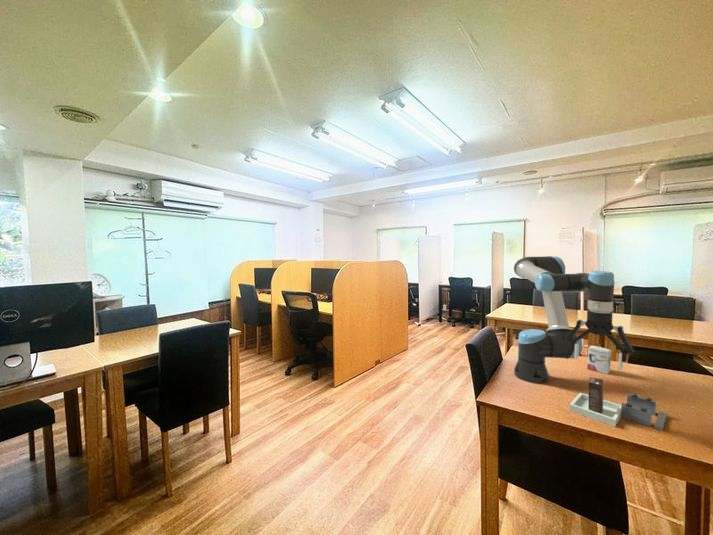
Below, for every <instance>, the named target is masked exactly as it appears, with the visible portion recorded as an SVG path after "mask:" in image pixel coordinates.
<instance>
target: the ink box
mask: <svg viewBox="0 0 713 535" xmlns="http://www.w3.org/2000/svg"><path fill="white" fill-rule="evenodd" d="M611 360H612V350H611V349H609V348H606V347H605V348H604V347H601V346H596V345H590V346H589V347H588V351H587V369H588V370H591V371H595V372H599V373H603V374H609V373H610V371H611Z"/></svg>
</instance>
